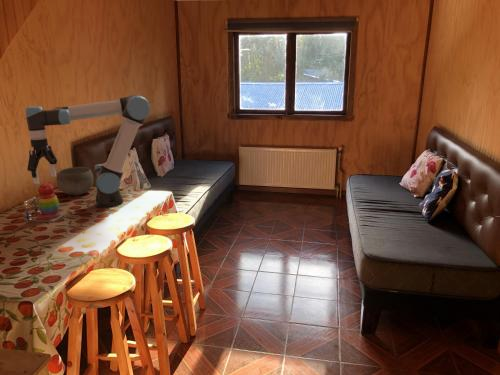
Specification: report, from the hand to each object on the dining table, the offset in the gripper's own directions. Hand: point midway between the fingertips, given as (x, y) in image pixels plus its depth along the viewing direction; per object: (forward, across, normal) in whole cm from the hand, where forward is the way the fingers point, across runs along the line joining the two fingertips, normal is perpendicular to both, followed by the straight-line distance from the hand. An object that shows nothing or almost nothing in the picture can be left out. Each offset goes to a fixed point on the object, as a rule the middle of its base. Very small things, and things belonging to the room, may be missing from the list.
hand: (45, 180), depth 215 cm
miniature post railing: (+20, -1, -12) cm, 23 cm away
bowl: (+20, -43, -12) cm, 49 cm away
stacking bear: (+20, 0, 0) cm, 20 cm away
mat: (+20, 0, -1) cm, 20 cm away
